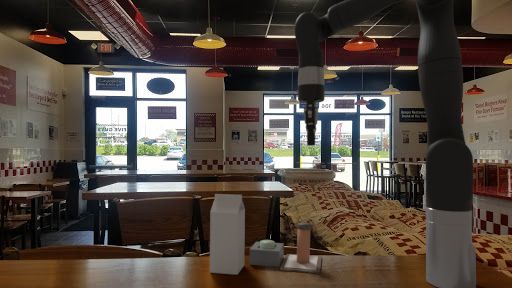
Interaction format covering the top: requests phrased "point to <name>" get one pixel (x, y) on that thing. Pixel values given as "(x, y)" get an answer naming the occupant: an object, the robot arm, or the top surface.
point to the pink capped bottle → (303, 243)
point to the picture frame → (301, 264)
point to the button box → (266, 255)
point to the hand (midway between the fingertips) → (311, 145)
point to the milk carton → (227, 234)
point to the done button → (267, 244)
